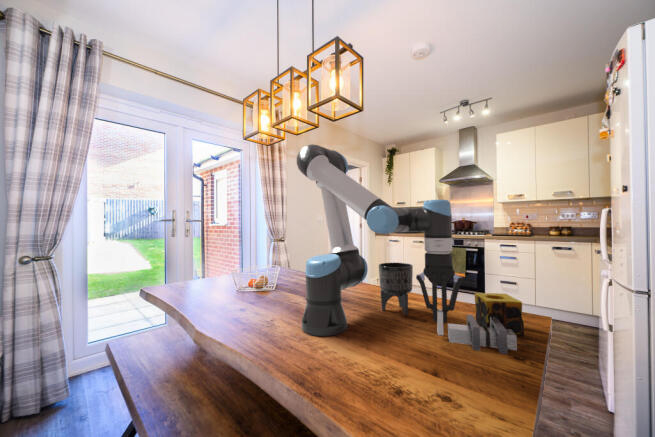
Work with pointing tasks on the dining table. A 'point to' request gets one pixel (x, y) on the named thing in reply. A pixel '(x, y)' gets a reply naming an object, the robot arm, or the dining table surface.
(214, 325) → the dining table surface
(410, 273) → the planter
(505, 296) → the candle
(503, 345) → the collar
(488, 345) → the banded white block
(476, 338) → the collar
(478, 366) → the dining table surface
